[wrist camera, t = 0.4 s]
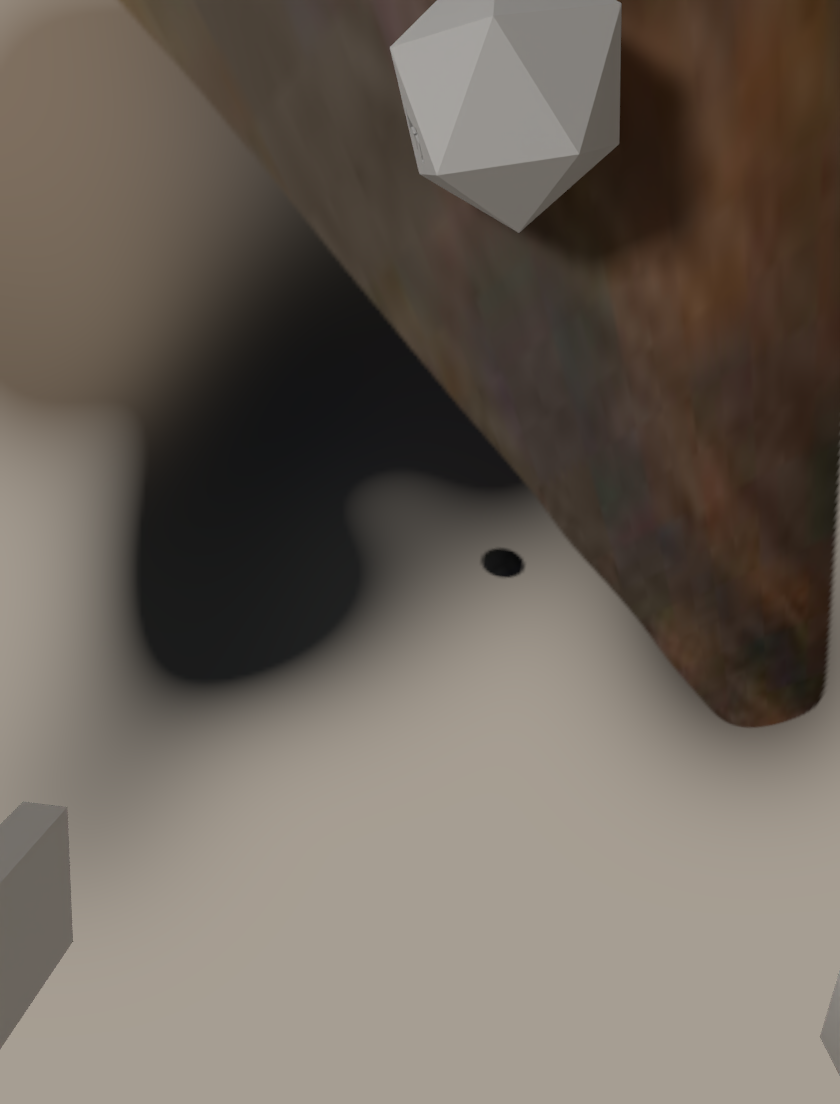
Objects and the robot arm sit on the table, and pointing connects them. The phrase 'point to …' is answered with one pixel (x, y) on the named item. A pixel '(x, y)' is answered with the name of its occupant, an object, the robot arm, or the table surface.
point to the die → (511, 98)
